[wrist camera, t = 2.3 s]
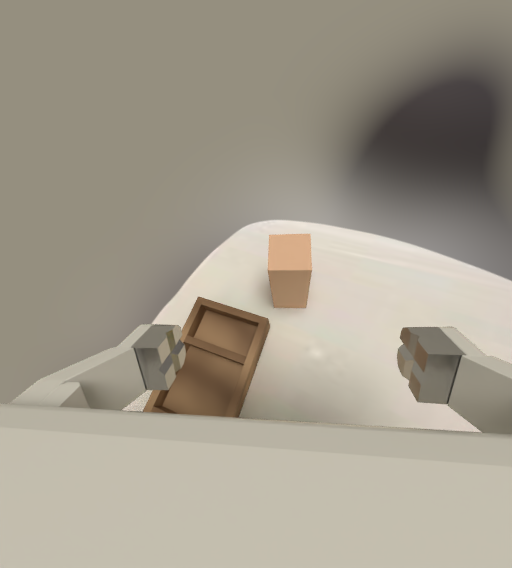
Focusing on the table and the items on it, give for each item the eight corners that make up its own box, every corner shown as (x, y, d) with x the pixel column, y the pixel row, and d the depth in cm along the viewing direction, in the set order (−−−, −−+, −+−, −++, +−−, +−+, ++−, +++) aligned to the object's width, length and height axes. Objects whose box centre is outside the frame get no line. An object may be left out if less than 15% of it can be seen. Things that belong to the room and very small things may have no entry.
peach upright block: (306, 308, 32) (311, 270, 23) (274, 307, 33) (267, 270, 24) (305, 279, 34) (310, 233, 25) (274, 279, 34) (269, 234, 25)
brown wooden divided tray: (210, 496, 25) (200, 508, 22) (136, 456, 27) (117, 462, 24) (270, 326, 31) (268, 318, 29) (206, 305, 34) (198, 296, 31)
